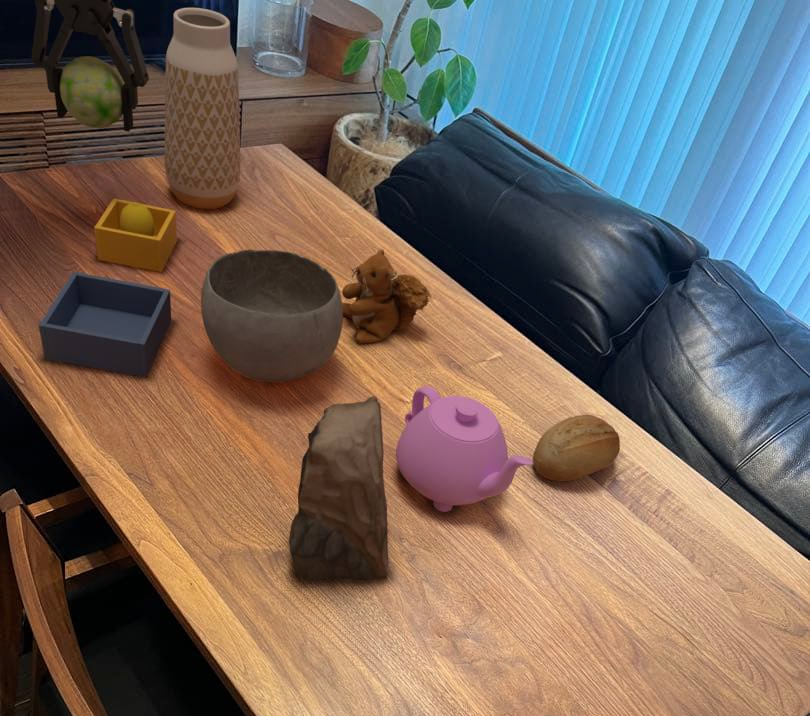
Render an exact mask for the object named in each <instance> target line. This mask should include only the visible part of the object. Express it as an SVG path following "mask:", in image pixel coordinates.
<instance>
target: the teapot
mask: <svg viewBox="0 0 810 716" xmlns="http://www.w3.org/2000/svg"><path fill="white" fill-rule="evenodd" d="M425 398H426V399H427V400H428V402H429V405H427V406H425ZM424 406H425V408H424ZM404 422H405V425H406V426H405V428H404V429H403V430H402V431H401V432H402V433H401V434H400V436H399V439H398V441H397V445H396V448H395V460H396V464H397V467H398V469H399V471H400V474H401V475H402V477H403V478H404V479H405V480H406V482H407V483H409V485H410V486H411V487H412V488H413V489H414V490H415V491H417V493H419V494H421V495H422V496H423V497H425V498H427V499H428V500H430V501H432V503H433V504H432V505H433V507H434V508H435V509H436V510H438V511H440V512H444V513H445V512H450V511H451V510H452V509H453V506H467V505H471V504H475V503H478V502H481V501H483V500H486V499H488V498H492V497H495V496H499V495H501V494H502V493H504V492H505V491H506V490H508V489H509V487H510V486H511V485H512V482H513V480H514V478H515V475H516V472H517V471H518V469H519V468H520V467H523V466H531V465H534V462H533V460H531V459H530V458H528V457H526V456H523V455H512V456H511V457H509V451H508V445H507V440H506V437H505V434H504V430H503V428H502V426H501V423H500V422H499V420H498V418H497V416H496V415H495V413H494V412H493V411H492V409H490V408H489V407H488V406H486V405H485V404H484V403H482V402H480V401H479V400H476V399H474V398H470V397H467V396H463V395H449V396H444V397H441V395H440V394H439V392H438V391H437V390H436V389H435V388H433V387H431V386H428V385H427V386H426V385H425V386H424V385H423V386H420V387H418V388H417V389H416V390H415V391H414V393H413V397H412V401H411V410H410V411H408V412H406V414H405V416H404Z"/></svg>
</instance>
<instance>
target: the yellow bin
mask: <svg viewBox="0 0 810 716" xmlns="http://www.w3.org/2000/svg"><path fill="white" fill-rule="evenodd" d="M134 202H135V201H129V200H126V199H125V200H124V199H119V198H115V197H114V198H113V199H112V200H111V201H110V203H109V205H108V206H107V208H106V209H105V211H104V212H103V214H102V215H101V216H100V218H99V220H98V221H97V222H96V224H95V226H94V229H93V230H94V237H95V247H96V254H97V261H102V262H108V263H112V264H117V265H123V266H127V267H128V266H129V267H134V268H137V269H144V270H148V271H154V272H159V273H162V272H163V270H164V268H165V267H166V264H167V263H168V260H169V258H170V256H171V254H172V253H173V250H174V248H175V246H176V245H177V242H178V237H177V236H178V233H177V211H176V210H174V209H170V208H166V207H165V208H164V207H160V206H154V205H150V204H145V203H140V202H138V203H139V204H142V205H144V206H145V207H146V208H147V209H148V210H149V211H150V213H151V215H152V218H153V221H154V235H153V237H152V236H147V235H142V234H137V233H132V232H127V231H121V229H120V215H121V212H122V210H123V208H124V207H125V206H127V205H128V204H130V203H134Z"/></svg>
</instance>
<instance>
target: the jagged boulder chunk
mask: <svg viewBox="0 0 810 716" xmlns="http://www.w3.org/2000/svg"><path fill="white" fill-rule="evenodd" d="M381 410H382V406H381V403H380V402H379V401H378V398H377V396H375V395H373V396H370V397H368V398H367V399H366V400H364V401H356V402H350V403H349V402H348V403H345V402H344V403H335V404H331V405H329V406H327V407H326V408H325V409H323V415H322V417H321V419H320V420H318V421H317V422H316V425H315V426H314V427H313V429H312V430H311V432H308V433H307V439H308V448H307V450H306V452H305V453H304V455H303V457H302V461H301V469H300V477H299V479H300V480H299V483H298V484H299V485H298V490H297V491H298V492H297V502H298V503H297V504H298V509H297V513H295V515H294V517H293V520H291V521H292V522H291V525H290V530H289V540H288V544H289V553H290V557H291V559H292V562H293V564H294V566H295V573H294V574H295V576H296V577H297V578H299V579H305V580H317V579H324V578H325V579H327V580H329V581H331V580H335V579H353V580H357V581H362V580H363V581H365V580H369V579H379V578H381V579H382V578H386V577H387V572H386V570H387V568H388V566H389V550H388V549H389V548H388V546H389V545H388V544H389V542H388V540H389V539H388V538H389V537H388V536H389V535H388V533H389V532H388V504H387V503H388V502H387V497H386V491H385V481H384V454H385V452H384V438H383V437H384V435H383V425H382V423H383V421H382V419H383V418H382V411H381Z"/></svg>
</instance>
